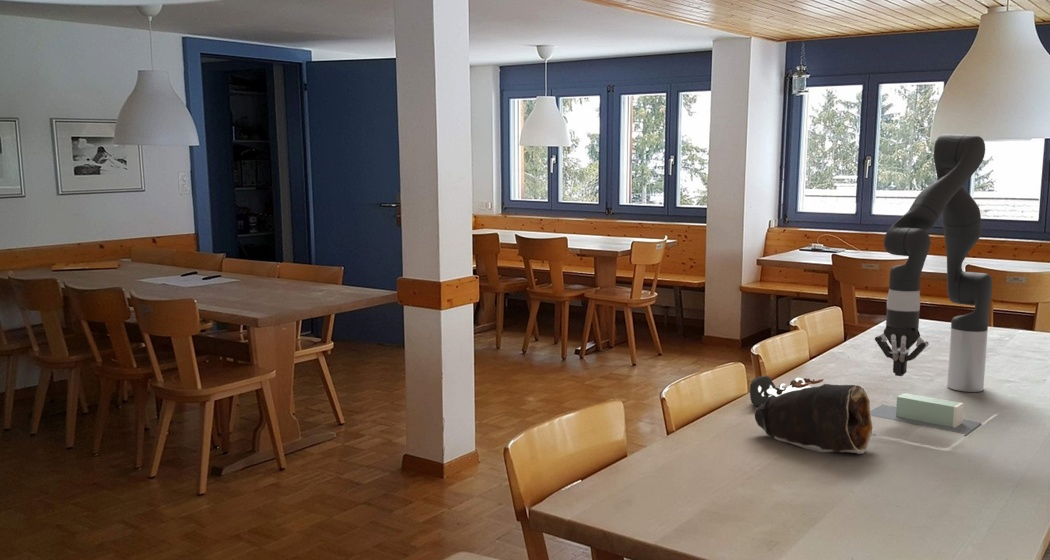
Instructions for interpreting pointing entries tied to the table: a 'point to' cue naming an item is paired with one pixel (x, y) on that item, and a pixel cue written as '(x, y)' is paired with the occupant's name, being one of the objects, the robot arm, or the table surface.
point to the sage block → (929, 409)
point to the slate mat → (890, 413)
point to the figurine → (774, 388)
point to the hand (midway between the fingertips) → (899, 375)
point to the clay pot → (819, 418)
